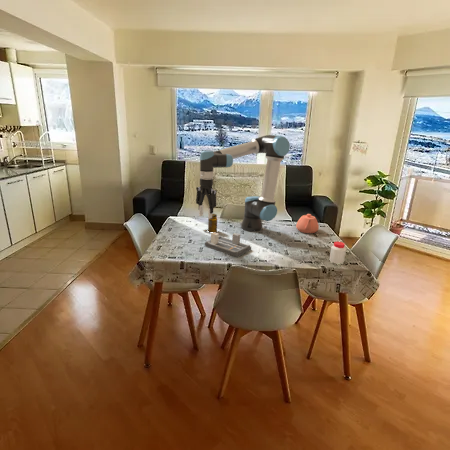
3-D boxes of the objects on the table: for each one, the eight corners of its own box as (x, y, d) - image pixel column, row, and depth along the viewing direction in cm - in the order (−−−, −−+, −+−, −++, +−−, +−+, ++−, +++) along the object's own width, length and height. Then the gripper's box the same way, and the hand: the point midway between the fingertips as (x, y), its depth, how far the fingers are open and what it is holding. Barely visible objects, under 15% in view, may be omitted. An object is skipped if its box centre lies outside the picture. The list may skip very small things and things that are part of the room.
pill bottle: (328, 263, 163) (331, 244, 159) (329, 257, 170) (332, 239, 166) (343, 265, 160) (347, 247, 157) (343, 260, 167) (347, 242, 164)
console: (204, 245, 179) (205, 232, 177) (219, 239, 190) (219, 227, 187) (237, 257, 165) (238, 243, 163) (251, 249, 176) (252, 236, 173)
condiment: (219, 232, 204) (219, 215, 200) (208, 234, 199) (209, 216, 195) (213, 228, 209) (214, 212, 206) (203, 230, 205) (203, 214, 201)
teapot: (319, 237, 201) (322, 220, 197) (295, 235, 204) (297, 217, 200) (316, 227, 221) (319, 211, 217) (295, 225, 224) (297, 209, 220)
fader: (210, 242, 178) (211, 233, 176) (213, 241, 180) (214, 232, 178) (215, 244, 176) (215, 234, 174) (218, 243, 178) (218, 233, 176)
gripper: (189, 176, 173) (189, 214, 180) (215, 181, 162) (214, 221, 169) (198, 175, 179) (197, 212, 186) (223, 180, 168) (222, 219, 175)
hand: (205, 216), depth 178 cm, fingers open, 6 cm apart
